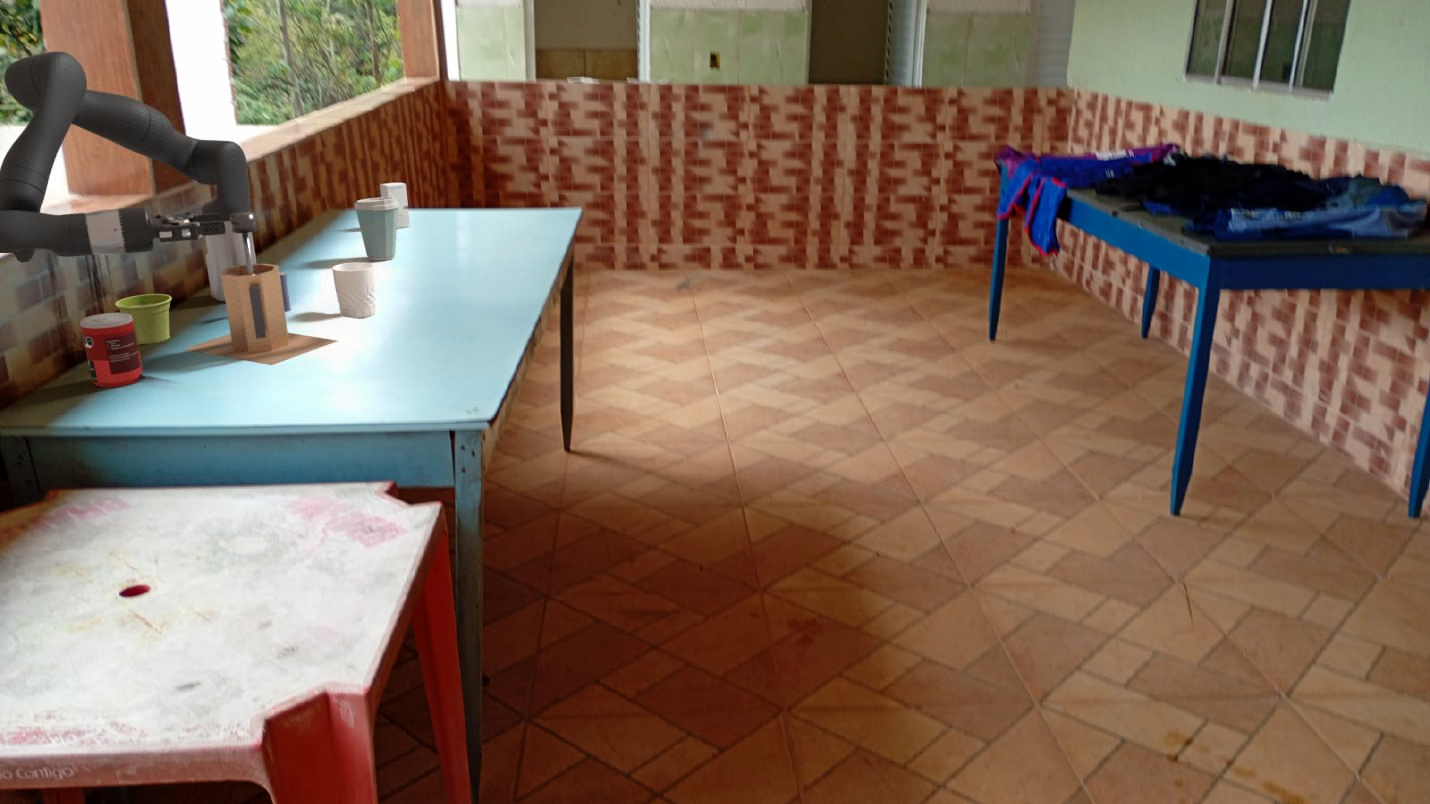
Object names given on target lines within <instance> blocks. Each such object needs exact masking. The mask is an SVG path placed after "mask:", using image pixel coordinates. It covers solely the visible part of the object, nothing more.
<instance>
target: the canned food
mask: <svg viewBox="0 0 1430 804" xmlns="http://www.w3.org/2000/svg"><path fill="white" fill-rule="evenodd" d="M79 322H80V324H79V325H80V330H81V335H82V341H83V344H84V345H83V346H84V350H85V354H86V360H87V364H88V369H89V374H90V379H91V381H92V383H93V384H95V385H94V386H97V387H98V386H99V387H100V388H106V387H110V388H120V387H126V386H130V385H133V384H136V383H138V382H140V381H141V380H142V379H143V372H144V371H143V367H142V361H141V355H140V351H139V349H140V348H139V345H138V344H137V338H136V333H135V327H134V323H133V318H132V315H130V314H126V313H121V312H108V313H100V314H93V315H90V316H87V317H85V318H83V319H80V321H79Z"/></svg>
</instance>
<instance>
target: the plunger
mask: <svg viewBox="0 0 1430 804" xmlns="http://www.w3.org/2000/svg"><path fill="white" fill-rule="evenodd" d="M255 217H256V215H255V212H251V211H249V212H239V213H233V214H230V219H231V226H232V232H233V233H242V238H243V244H244V251H245V258H246V264H247V271H248V275H252V274H254V271H253V264H252V257H251V250H250V244H249V237H248V233H249V232H252V233H254V232H257V230H258V229H257V223H256V218H255Z"/></svg>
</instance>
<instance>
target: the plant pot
mask: <svg viewBox="0 0 1430 804" xmlns="http://www.w3.org/2000/svg"><path fill="white" fill-rule="evenodd" d="M172 300H173V299H172V296H171V295H169V294H162V293H149V294H139V295H134V296H129V297H125V298H122V299H119V300H116V302H115V304H114V305H115V307H117V309H118V310H119V313H126V314H130V315H132V318H133V323H134V327H135V333H136V338H137V344H138V346H139V345H143V344H144V345H149V344H155V343H160V342H164V341H166V340H169V339H170V337H171V336H170V311H169V310H170V306H171V301H172Z"/></svg>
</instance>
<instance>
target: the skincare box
mask: <svg viewBox="0 0 1430 804" xmlns="http://www.w3.org/2000/svg"><path fill="white" fill-rule="evenodd" d="M379 189H380V197H396V201H397V202H398V203H399V206H400V207H398V218H397V229H400V228H408V227H410V226H411V223H410V215H409V204H408V193H407V192H408V191H407V184H406V183H404V182H399V181H398V182H388V183H380V184H379Z"/></svg>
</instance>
